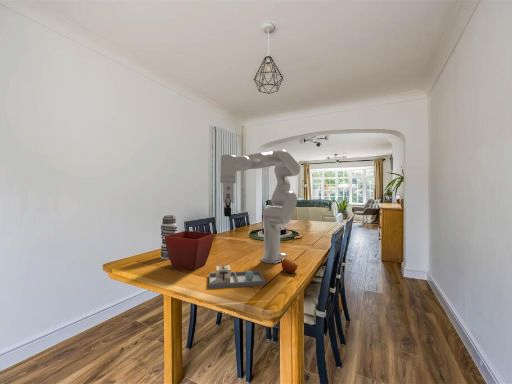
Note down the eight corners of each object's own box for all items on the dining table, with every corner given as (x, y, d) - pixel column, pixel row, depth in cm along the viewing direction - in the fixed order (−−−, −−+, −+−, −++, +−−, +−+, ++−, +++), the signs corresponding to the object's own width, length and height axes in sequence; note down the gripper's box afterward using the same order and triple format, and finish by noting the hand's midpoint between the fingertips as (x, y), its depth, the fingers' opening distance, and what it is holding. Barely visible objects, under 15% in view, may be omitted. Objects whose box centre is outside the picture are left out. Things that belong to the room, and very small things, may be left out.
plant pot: (214, 262, 130) (214, 232, 130) (196, 274, 112) (197, 239, 112) (184, 259, 135) (185, 230, 135) (163, 269, 117) (163, 236, 117)
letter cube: (229, 278, 106) (229, 265, 106) (230, 283, 100) (230, 269, 100) (215, 279, 105) (216, 265, 105) (216, 284, 99) (216, 270, 99)
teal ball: (252, 278, 107) (252, 269, 107) (254, 281, 103) (254, 272, 103) (244, 278, 106) (244, 269, 106) (245, 281, 102) (245, 272, 102)
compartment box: (259, 274, 112) (259, 270, 112) (265, 285, 100) (265, 281, 100) (209, 277, 108) (209, 273, 108) (208, 289, 95) (208, 284, 95)
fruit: (276, 266, 121) (284, 253, 121) (289, 274, 121) (297, 261, 122) (279, 272, 113) (288, 258, 113) (292, 280, 113) (301, 266, 114)
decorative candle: (156, 257, 137) (157, 215, 137) (170, 254, 145) (171, 214, 145) (165, 260, 132) (166, 216, 132) (179, 257, 139) (180, 215, 139)
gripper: (236, 179, 105) (236, 217, 105) (234, 181, 122) (234, 213, 122) (220, 179, 104) (219, 217, 104) (220, 180, 121) (219, 213, 121)
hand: (227, 215), depth 113 cm, fingers open, 9 cm apart
